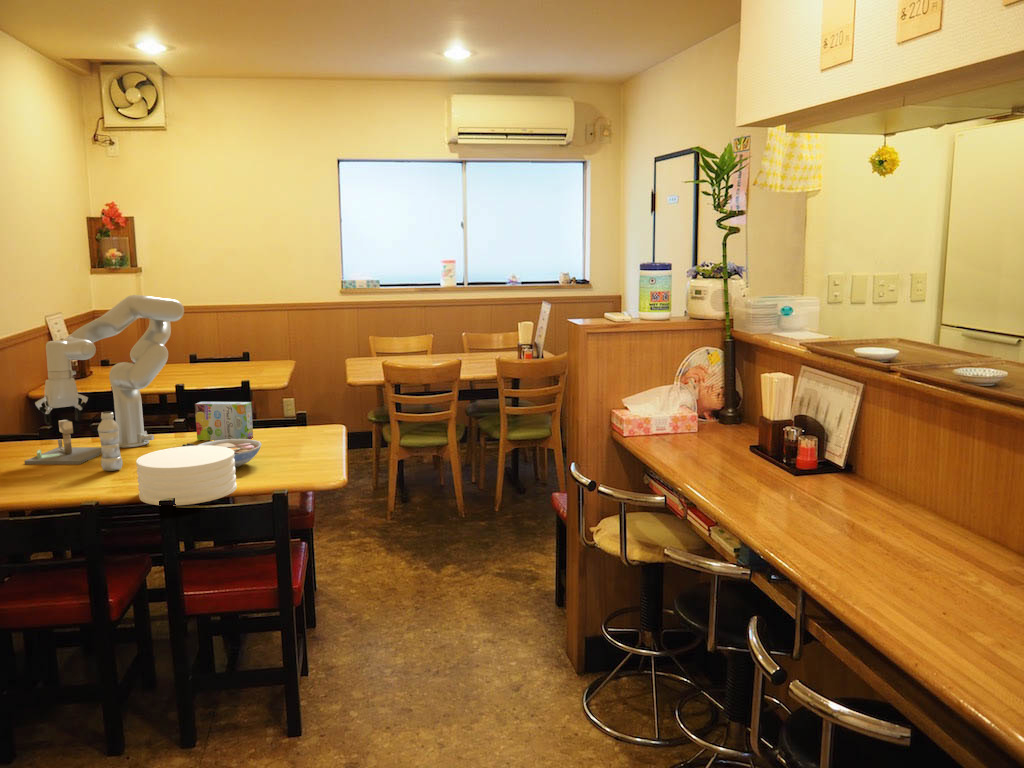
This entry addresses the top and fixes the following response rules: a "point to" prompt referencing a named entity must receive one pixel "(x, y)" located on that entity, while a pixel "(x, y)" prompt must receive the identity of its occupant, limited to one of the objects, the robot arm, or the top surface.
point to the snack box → (223, 420)
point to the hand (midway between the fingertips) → (63, 422)
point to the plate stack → (186, 474)
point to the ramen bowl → (237, 448)
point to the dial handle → (65, 436)
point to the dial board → (65, 456)
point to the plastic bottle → (109, 442)
